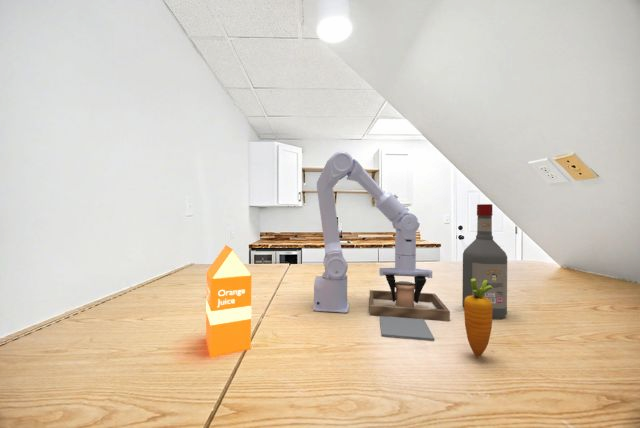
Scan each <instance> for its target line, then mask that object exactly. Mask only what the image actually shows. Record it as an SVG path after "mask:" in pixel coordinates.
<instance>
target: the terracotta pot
mask: <svg viewBox="0 0 640 428" xmlns="http://www.w3.org/2000/svg"><path fill="white" fill-rule="evenodd" d="M415 289H416V284H415V282H410V281H402V280H401V281H395V291H396V300H395V306H396V307H412V308H415V301H414V292H415Z"/></svg>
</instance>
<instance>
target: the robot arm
mask: <svg viewBox="0 0 640 428" xmlns="http://www.w3.org/2000/svg"><path fill="white" fill-rule="evenodd" d="M346 176H347V177H346ZM345 177H346V180H347V181H348V180H349V181H351V182H356V183H357V184H358V185H360V186H361V187H362V188H363V190H365V191H366V192H367V193H368V194H369V195H370V196H371V197H372V198H373V199H374V200H375V207H376V209H377V210H378V211H380V212H381V213H382V214H383V215H384V217H385V218H386V219H388V220H389V222H390V223H392V228H393V229H394V230H395V238H394V240H395V241H394V247H395V248H394V267H379V273H378V274H379V276H380V277H383V276H385V279H386V281H387V283H388V286H389V289H390V291H391V293H392V300H391V301H392V302H394V303H396V300H395V291H396V288H395V282H396V277H413V278H414V284H416V289H414V292H415V294H414V304H415V303H416V304H419V302H418V300H419V296H420V293H422V290H423V288H424V286H425V284H426V283H427V278H428V279H432V278H433V271H432V269H422V268H421V269H420V268H416V267H417V265H416V263H417V261H416V259H417V257H416V255H417V253H416V252H417V248H416V247H417V244H416V243H417V238H416V236H417V233H416V232H417V231H418V230H419V228H420V222H419V220H418V218H417V216H416V215H415V214H413V213H410V212H409V211H410V209H409V208H408V207H405V206H404V205H403V204H402V203H401V202H400V200H398V198H399V197H398V196H397V194H393V193H392V192H385V191H384V190H383V189H382V188H381V187H380V186H379V184H377V182H376V181H375V180H374V179H373V178H372V176H371V175H370V174H369V173H368V171H367V170H366V169H364V167H363V166H362V165H361V163H360V162H359V161H358V160H356V159H355V158H353V157H352V155H351V154H350V153H348V152H347V151H344V150H342V151H340V150H339V151H337V152H335V153H334V154H333V155H332V156H331V157H330V158H329V159H328V160H326V163H325V165H324V167H323V169H322V171H321V173H320V175H319V177H318V179H317V181H316V191H317V197H318V205H319V211H320V212H319V214H320V221H321V227H322V236H323V243H324V253H325V254H324V258H323V266H324V272H323V273H322V275H316V276H315V279H314V282H313V284H314V285H313V311H314V312H329V313H343V314H344V313H345V314H347V313H348V311H349V308H350V302H349V301H348V274H347V272H348V266H349V265H348V262H347V261H346V259H345V257H344V255H343V249H342V246H341V239H340V232H339V231H340V230H339V224H338V217H337V209H336V202H335V195H334V194H335V193H334V187H335V186H337V185H336V184H338V182H339V181H340V180H342V179H344V178H345Z"/></svg>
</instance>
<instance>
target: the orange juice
mask: <svg viewBox="0 0 640 428" xmlns="http://www.w3.org/2000/svg"><path fill="white" fill-rule="evenodd" d="M205 297H206V299H205V301H206V302H205V303H206V304H205V310H206V311H205V312H206V314H205V318H206V319H205V339H206V345H207V350H208V353H209V357H210V358H215V357H220V356H225V355H228V354H233V353H238V352H242V351H247V350H250V349H251V348H252V340H251V339H252V274H251V273H250V271H249V270H248V269H247V267H246V266H245V264H244V263H243V262H242V260H241V259H240V257H239V256H238V255H237V253H236V252H235V251H234V249H233V248H231V247H230V246H229V245H227V244H225V246H224V247H223V248H222V250H221V251H220V252H219V254H218V255H217V257H216V258H215V260H214V261H213V262H212V264H211V265H210V266H209V268H208V269H207V270H206V296H205Z"/></svg>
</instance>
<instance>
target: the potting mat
mask: <svg viewBox="0 0 640 428" xmlns="http://www.w3.org/2000/svg"><path fill="white" fill-rule="evenodd" d="M379 325H380V331H381V332H380V333H381V337H384V338H385V337H386V338H394V339H408V340H417V341H419V340H420V341H430V342H431V341H432V342H434V341H435V337H434V335H433V333H432V332H431V329H430V328H429V325H428V324H427V322H426V319H414V318H400V317H386V316H379Z"/></svg>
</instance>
